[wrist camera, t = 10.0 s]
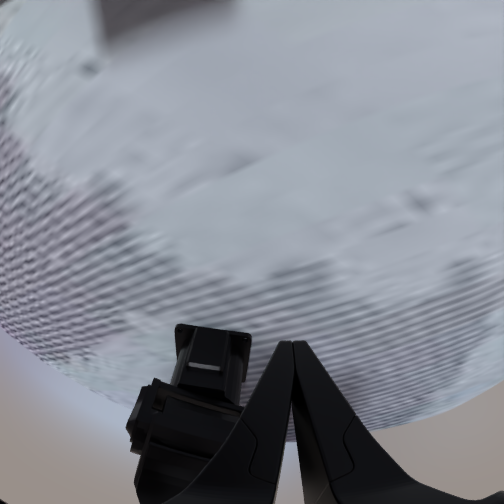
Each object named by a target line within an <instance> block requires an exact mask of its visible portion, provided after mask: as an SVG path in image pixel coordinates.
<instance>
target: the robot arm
mask: <svg viewBox="0 0 504 504" xmlns="http://www.w3.org/2000/svg"><path fill="white" fill-rule="evenodd" d="M180 329H182V330H180ZM244 338H247V339H244ZM251 339H252V337H251V335H250V334H249V333H244V332H236V331H228V330H220V329H213V328H206V327H199V326H192V325H186V324H177V325H176V327H175V343H176V355H177V363H176V366H175V369H174V373H173V376H172V379H171V383H170V384H167V383H164V382H162V381H161V380H159V379H157V378H154V379H153V382H152V385H148V386H143V387H142V388H141V391H140V394H139V396H138V399H137V402H136V404H135V406H134V409H133V411H132V413H131V415H130V417H129V419H128V422H127V425H126V430H127V431H128V433H129V435H130V437H131V438H130V442H132V445H131V450H130V452H132V453H135V454H139V455H141V456H140V459H139V463H138V466H137V470H136V474H135V478H134V485H135V488H136V493H137V496H138V499H139V502H140V504H275V500H276V495H277V489H278V484H279V478H280V473H281V467H282V461H283V455H284V449H285V443H286V436H287V430H288V423H289V416H290V409H291V401H292V412H293V419H294V426H295V433H296V441H297V448H298V456H299V463H300V471H301V478H302V486H303V494H304V502H305V504H504V491H499V492H497V493H495V494H493V495H491V496H488V497H486V498H484V499H481V500H467V499H463V498H460V497H457V496H454V495H451V494H448V493H445V492H442V491H440V490H437V489H435V488H432V487H429V486H427V485H424V484H422V483H419V482H418V481H416V480H414V479H413V478H412V477H410V476H409V475H408V474H407V473H406V472H405V471H404V470H403V469H402V468H401V467H400V466H399V465H398V464H397V463H396V462H395V461H394V460H393V459H392V458H391V457H390V455H389V454H388V453H387V452H386V451H385V450H384V449H383V448H382V447H381V446H380V444H379V443H378V442H377V441H376V440H375V439H374V438H373V436H372V435H371V434H370V433H369V431H368V430H367V429H366V427H365V426H364V425H363V423H362V422H361V420H360V419H359V417H358V416H357V415H356V413H355V412H354V410H353V409H352V407H351V406H350V404H349V403H348V401H347V400H346V399H345V397H344V396H343V394H342V393H341V391H340V390H339V388H338V387H337V385H336V384H335V383H334V381H333V380H332V378H331V377H330V375H329V374H328V372H327V371H326V369H325V368H324V367H323V365H322V364H321V362H320V361H319V359H318V358H317V356H316V355H315V353H314V352H313V350H312V349H311V348H310V346H309V345H308V343H307V342H306V341H304V340H301V341H293V343H292V341H280V342H279V343H278V345H277V347H276V349H275V351H274V353H273V355H272V357H271V359H270V361H269V363H268V365H267V367H266V369H265V371H264V372H263V374H262V376H261V378H260V380H259V382H258V384H257V386H256V388H255V390H254V392H253V393H252V395H251V397H250V399H249V401H248V403H247V405H246V407H242V406H239V401H240V392H241V383H242V382H244V381H245V378H246V372H247V366H248V359H249V353H250V347H251ZM355 415H356V416H355ZM0 504H8V503H6V502H4V501H3V500H1V499H0Z"/></svg>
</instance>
